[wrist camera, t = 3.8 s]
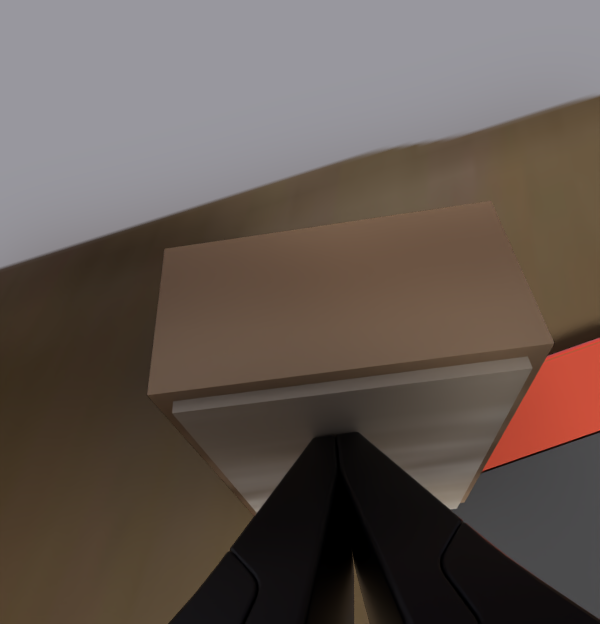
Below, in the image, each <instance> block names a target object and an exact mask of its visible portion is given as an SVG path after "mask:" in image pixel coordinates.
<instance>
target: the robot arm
mask: <svg viewBox="0 0 600 624" xmlns="http://www.w3.org/2000/svg"><path fill="white" fill-rule="evenodd" d="M352 553H353V555H352ZM353 559H354V564H355V569H356V573H357V577H358V581H359V585H360V589H361V593H362V596H363V600H364V604H365V608H366V612H367V615H368V619H369V623H370V624H600V619H599V618H597V617H596V616H594V615H593V614H591V613H590V612H588V611H587V610H585V609H584V608H582V607H581V606H579V605H578V604H576V603H575V602H573V601H572V600H570V599H569V598H567V597H566V596H564V595H563V594H561V593H560V592H558V591H557V590H555V589H554V588H552V587H551V586H549V585H548V584H546V583H545V582H544V581H542V580H541V579H539V578H538V577H536V576H535V575H533V574H532V573H531V572H529V571H528V570H526V569H525V568H524V567H522V566H521V565H519V564H518V563H516V562H515V561H514V560H512V559H511V558H509V557H508V556H507V555H505V554H504V553H503V552H502V551H500V550H499V549H498V548H497V547H495V546H494V545H493V544H491V543H490V542H489V541H488V540H486V539H485V538H484V537H483V536H481V535H480V534H479V533H478V532H477V531H475V530H474V529H473V528H472V527H471V526H470V525H468V524H467V523H465V522H463V520H462V519H461V518H460V517H459V516H457V515H456V514H455V513H454V512H453V511H451V510H450V509H449V508H448V507H447V506H446V505H444V504H443V503H442V502H441V501H440V500H438V499H437V498H436V497H435V496H434V495H433V494H431V493H430V492H429V491H428V490H427V489H425V488H424V487H423V486H422V485H421V484H420V483H418V482H417V481H416V480H415V479H414V478H412V477H411V476H410V475H409V474H408V473H407V472H405V471H404V470H403V469H402V468H401V467H399V466H398V465H397V464H396V463H395V462H394V461H392V460H391V459H390V458H389V457H388V456H386V455H385V454H384V453H383V452H382V451H381V450H379V449H378V448H377V447H376V446H375V445H373V444H372V443H371V442H370V441H369V440H367V439H366V438H365V437H364V436H363V435H362V434H360V433H359V432H350V433H342V434H338V435H337V437H335V436H333V435H328V436H320V437H315V438H313V439H312V440H311V441H310V443H309V444H308V445H307V447H306V448H305V449H304V451H303V452H302V453H301V455H300V456H299V457H298V459H297V460H296V461H295V463H294V464H293V465H292V467H291V468H290V469H289V471H288V472H287V473H286V475H285V476H284V477H283V479H282V480H281V481H280V483H279V484H278V485H277V487H276V488H275V489H274V491H273V492H272V493H271V495H270V496H269V497H268V499H267V500H266V501H265V503H264V504H263V505H262V507H261V508H260V509H259V511H258V512H257V513H256V515H255V516H254V517H253V519H252V520H251V521H250V523H249V524H248V525H247V527H246V528H245V529H244V531H243V532H242V533H241V535H240V536H239V537H238V539H237V540H236V541H235V543H234V544H233V545H232V547H231V548H230V551H229V552H227V553H226V554H225V556H224V557H223V558H222V560H221V561H220V562H219V564H218V565H217V566H216V568H215V569H214V570H213V572H212V573H211V574H210V575H209V577H208V578H207V579H206V580H205V582H204V583H203V584H202V585H201V587H200V588H199V589H198V590H197V592H196V593H195V594H194V595H193V596H192V597H191V599H190V600H189V601H188V602H187V603H186V604H185V605H184V606H183V608H182V609H181V610H180V611H179V612H178V613H177V614H176V616H175V617H174V618H173V619H172V620H171V621H170V622H169V623H168V624H354V568H353Z"/></svg>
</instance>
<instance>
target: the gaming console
mask: <svg viewBox="0 0 600 624" xmlns="http://www.w3.org/2000/svg"><path fill="white" fill-rule="evenodd" d="M559 446H560V447H559ZM556 447H557V448H556ZM530 456H531V457H530ZM527 457H528V458H527ZM524 458H525V459H524ZM521 459H522V460H521ZM518 460H519V461H518ZM515 461H516V462H515ZM512 462H513V463H512ZM509 463H510V464H509ZM506 464H507V465H506ZM503 465H505V466H503ZM500 466H502V467H500ZM498 467H499V468H498ZM495 468H496V469H495ZM492 469H493V470H492ZM489 470H490V471H489ZM486 471H487V472H486ZM483 472H484V473H483ZM450 510H451V511H453V512H454V513H455V514H456V515H457V516H459V517H460V518H461V519H462V520H463V522H465V523H467V524H468V525H470V526H471V527H472V528H473V529H474V530H475V531H477V532H478V533H479V534H480V535H481V536H483V537H484V538H485V539H486V540H488V541H489V542H490V543H491V544H493V545H494V546H495V547H497V548H498V549H499V550H500V551H502V552H503V553H504V554H505V555H507V556H508V557H509V558H511V559H512V560H514V561H515V562H516V563H518V564H519V565H521V566H522V567H524V568H525V569H526V570H528V571H529V572H531V573H532V574H533V575H535V576H536V577H538V578H539V579H541V580H542V581H544V582H545V583H546V584H548V585H549V586H551V587H552V588H554V589H555V590H557V591H558V592H560V593H561V594H563V595H564V596H566V597H567V598H569V599H570V600H572V601H573V602H575V603H576V604H578V605H579V606H581V607H582V608H584V609H585V610H587V611H588V612H590V613H591V614H593V615H594V616H596V617H597V618H599V619H600V338H597V339H594V340H591V341H588V342H585V343H583V344H580V345H577V346H574V347H571V348H568V349H566V350H563V351H560V352H557V353H554V354H551V355H549V356H547V357H546V359H545V361H544V363H543V364H542V366H541V368H540V370H539V371H538V373H537V375H536V377H535V379H534V380H533V382H532V384H531V386H530V387H529V389H528V391H527V393H526V394H525V396H524V398H523V400H522V402H521V403H520V405H519V407H518V409H517V410H516V412H515V414H514V416H513V417H512V419H511V421H510V423H509V425H508V426H507V428H506V430H505V432H504V433H503V435H502V437H501V439H500V440H499V442H498V444H497V446H496V447H495V449H494V451H493V453H492V455H491V456H490V458H489V460H488V462H487V463H486V465H485V467H484V469H483V470H482V472H481V474H480V476H479V478H478V479H477V481H476V483H475V485H474V486H473V488H472V490H471V492H470V493H469V495H468V497H467V499H466V500H465V502H464V503H460V504H459V506H458V508H457V509H450Z"/></svg>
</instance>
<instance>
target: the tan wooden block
mask: <svg viewBox="0 0 600 624" xmlns="http://www.w3.org/2000/svg"><path fill="white" fill-rule="evenodd" d="M553 345H554V341H553V339H552V336H551V334H550V332H549V330H548V327H547V325H546V323H545V321H544V318H543V316H542V314H541V312H540V309H539V307H538V305H537V303H536V300H535V298H534V296H533V294H532V291H531V289H530V287H529V285H528V282H527V280H526V278H525V276H524V273H523V271H522V269H521V267H520V264H519V262H518V260H517V258H516V255H515V253H514V251H513V249H512V246H511V244H510V242H509V240H508V237H507V235H506V233H505V231H504V228H503V226H502V224H501V222H500V219H499V217H498V215H497V213H496V210H495V208H494V206H493V204H492V201H486V202H479V203H472V204H466V205H459V206H452V207H445V208H438V209H432V210H425V211H418V212H411V213H404V214H398V215H391V216H384V217H377V218H370V219H364V220H357V221H350V222H343V223H336V224H330V225H323V226H316V227H309V228H302V229H296V230H289V231H282V232H275V233H268V234H262V235H255V236H248V237H241V238H234V239H228V240H221V241H214V242H207V243H200V244H194V245H187V246H180V247H173V248H166V249H164V258H163V266H162V275H161V283H160V291H159V300H158V308H157V316H156V325H155V333H154V341H153V350H152V358H151V367H150V375H149V383H148V392H147V396H148V397H149V398H150V399H151V400H152V401H153V403H154V404H155V405H156V406H157V407H158V408H159V409H160V410H161V412H162V413H163V414H164V415H165V416H166V417H167V418H168V419H169V421H170V422H171V423H172V424H173V425H174V426H175V427H176V429H177V430H178V431H179V432H180V433H181V434H182V435H183V436H184V438H185V439H186V440H187V441H188V442H189V443H190V444H191V445H192V447H193V448H194V449H195V450H196V451H197V452H198V453H199V454H200V456H201V457H202V458H203V459H204V460H205V461H206V462H207V463H208V465H209V466H210V467H211V468H212V469H213V470H214V471H215V472H216V474H217V475H218V476H219V477H220V478H221V479H222V480H223V481H224V483H225V484H226V485H227V486H228V487H229V488H230V489H231V490H232V492H233V493H234V494H235V495H236V496H237V497H238V498H239V499H240V501H241V502H242V503H243V504H244V505H245V506H246V507H247V508H248V510H249V511H250V512H251V513H252V514H253V515H254V516H255V515H256V513H257V512H258V511H259V509H260V508H261V507H262V505H263V504H264V503H265V501H266V500H267V499H268V497H269V496H270V495H271V493H272V492H273V491H274V489H275V488H276V487H277V485H278V484H279V483H280V481H281V480H282V479H283V477H284V476H285V475H286V473H287V472H288V471H289V469H290V468H291V467H292V465H293V464H294V463H295V461H296V460H297V459H298V457H299V456H300V455H301V453H302V452H303V451H304V449H305V448H306V447H307V445H308V444H309V443H310V441H311V440H312V439H313V438H315V437H320V436H328V435H333V436H335V437H337V435H338V434H342V433H350V432H359V433H360V434H362V435H363V436H364V437H365V438H366V439H367V440H369V441H370V442H371V443H372V444H373V445H375V446H376V447H377V448H378V449H379V450H381V451H382V452H383V453H384V454H385V455H386V456H388V457H389V458H390V459H391V460H392V461H394V462H395V463H396V464H397V465H398V466H399V467H401V468H402V469H403V470H404V471H405V472H407V473H408V474H409V475H410V476H411V477H412V478H414V479H415V480H416V481H417V482H418V483H420V484H421V485H422V486H423V487H424V488H425V489H427V490H428V491H429V492H430V493H431V494H433V495H434V496H435V497H436V498H437V499H438V500H440V501H441V502H442V503H443V504H444V505H446V506H447V507H448V508H449V509H457V508H458V506H459V504H460V503H464V502H465V500H466V499H467V497H468V495H469V493H470V492H471V490H472V488H473V486H474V485H475V483H476V481H477V479H478V478H479V476H480V474H481V472H482V470H483V469H484V467H485V465H486V463H487V462H488V460H489V458H490V456H491V455H492V453H493V451H494V449H495V447H496V446H497V444H498V442H499V440H500V439H501V437H502V435H503V433H504V432H505V430H506V428H507V426H508V425H509V423H510V421H511V419H512V417H513V416H514V414H515V412H516V410H517V409H518V407H519V405H520V403H521V402H522V400H523V398H524V396H525V394H526V393H527V391H528V389H529V387H530V386H531V384H532V382H533V380H534V379H535V377H536V375H537V373H538V371H539V370H540V368H541V366H542V364H543V363H544V361H545V359H546V357H547V356H548V354H549V352H550V350H551V349H552V347H553Z"/></svg>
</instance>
